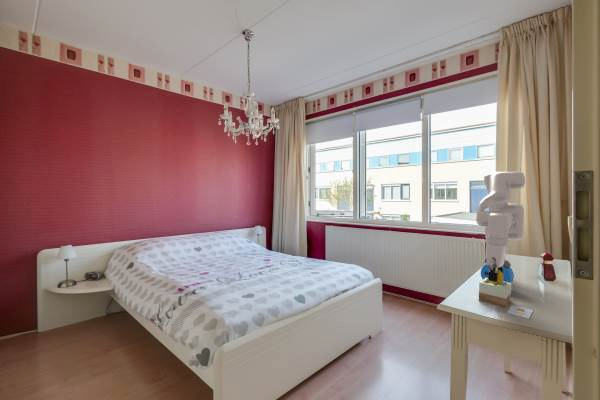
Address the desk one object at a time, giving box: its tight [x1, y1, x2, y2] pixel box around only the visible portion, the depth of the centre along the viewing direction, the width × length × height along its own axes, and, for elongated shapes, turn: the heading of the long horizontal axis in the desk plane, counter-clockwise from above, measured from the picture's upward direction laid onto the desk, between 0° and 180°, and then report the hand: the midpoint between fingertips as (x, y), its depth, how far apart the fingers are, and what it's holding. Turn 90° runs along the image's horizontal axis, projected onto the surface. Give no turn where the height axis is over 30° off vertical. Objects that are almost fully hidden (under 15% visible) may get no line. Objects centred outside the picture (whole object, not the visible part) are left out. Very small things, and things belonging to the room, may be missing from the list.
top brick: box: [478, 278, 513, 299], centre depth 126 cm, size 10×10×4 cm
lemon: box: [489, 269, 504, 286], centre depth 126 cm, size 6×6×8 cm
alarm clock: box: [480, 258, 515, 283], centre depth 143 cm, size 13×6×15 cm, turn 38°
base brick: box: [478, 291, 512, 309], centre depth 126 cm, size 10×10×4 cm
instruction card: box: [506, 305, 534, 320], centre depth 116 cm, size 10×7×1 cm
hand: (495, 278), depth 126 cm, fingers open, 9 cm apart
